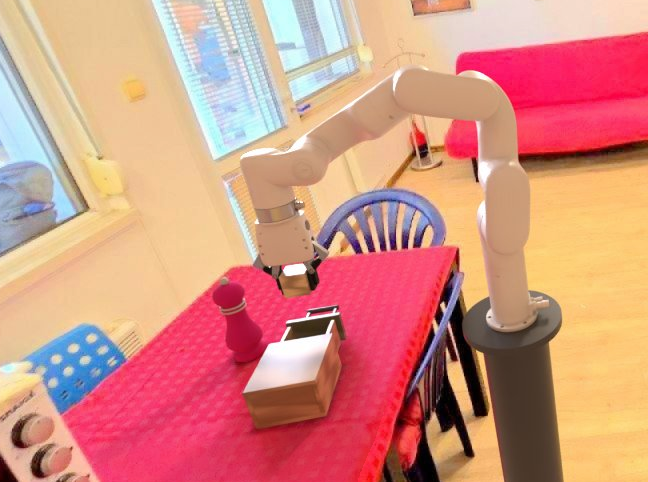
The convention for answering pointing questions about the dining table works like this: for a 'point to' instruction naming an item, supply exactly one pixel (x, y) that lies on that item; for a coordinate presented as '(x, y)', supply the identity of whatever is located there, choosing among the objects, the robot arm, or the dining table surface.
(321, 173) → the robot arm
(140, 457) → the dining table surface
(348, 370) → the dining table surface
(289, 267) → the block
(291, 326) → the drawer
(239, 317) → the pepper mill
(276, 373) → the cabinet
